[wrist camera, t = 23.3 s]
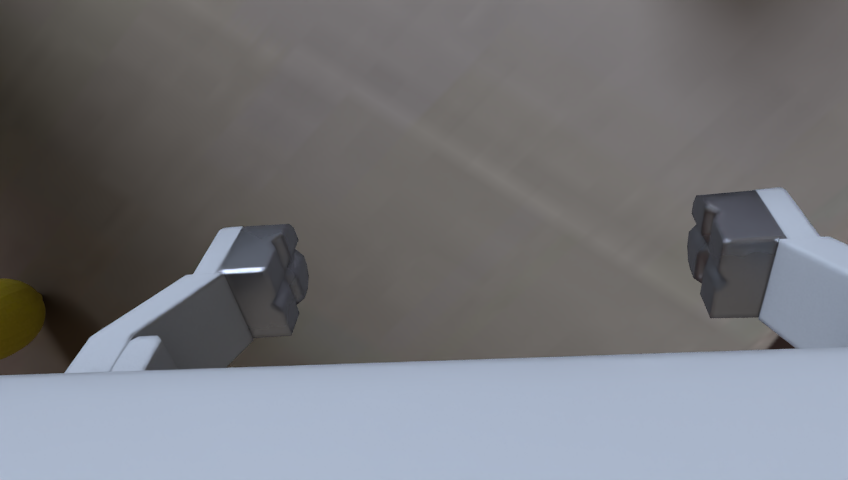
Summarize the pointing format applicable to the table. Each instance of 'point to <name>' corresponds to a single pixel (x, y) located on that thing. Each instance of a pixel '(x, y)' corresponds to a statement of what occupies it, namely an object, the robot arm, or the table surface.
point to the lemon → (19, 315)
